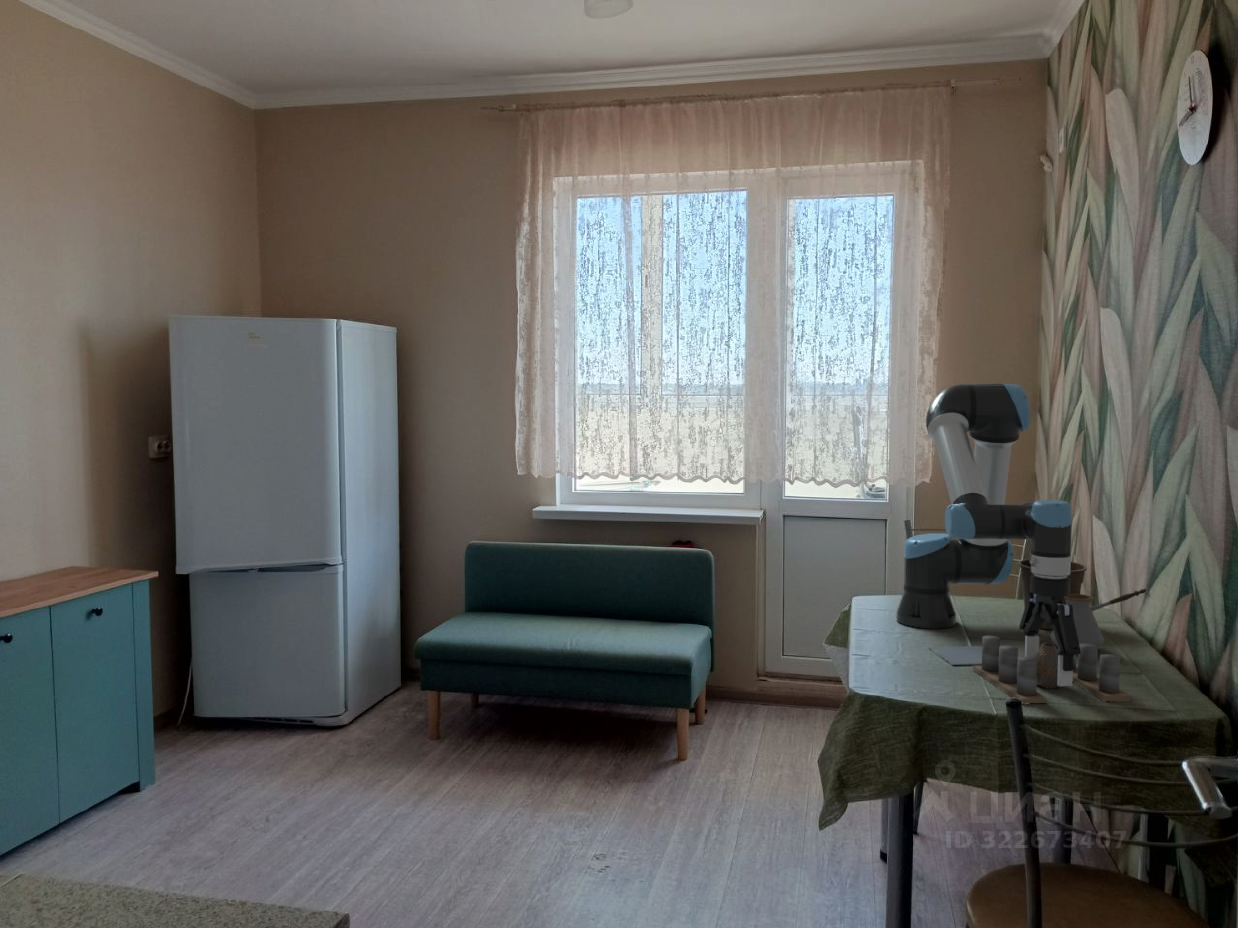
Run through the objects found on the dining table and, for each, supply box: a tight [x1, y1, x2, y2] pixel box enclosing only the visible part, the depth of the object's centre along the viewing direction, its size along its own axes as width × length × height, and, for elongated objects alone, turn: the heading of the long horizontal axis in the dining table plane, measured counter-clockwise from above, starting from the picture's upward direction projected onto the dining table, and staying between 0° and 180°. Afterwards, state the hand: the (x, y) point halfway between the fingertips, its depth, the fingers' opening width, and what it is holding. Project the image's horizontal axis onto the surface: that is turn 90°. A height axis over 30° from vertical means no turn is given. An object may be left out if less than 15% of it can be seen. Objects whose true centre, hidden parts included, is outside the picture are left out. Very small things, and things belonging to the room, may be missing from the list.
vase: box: [1032, 642, 1060, 689], centre depth 194 cm, size 7×7×9 cm
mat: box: [928, 645, 982, 666], centre depth 216 cm, size 14×14×1 cm
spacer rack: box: [972, 635, 1131, 705], centre depth 194 cm, size 22×22×8 cm
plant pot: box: [1018, 558, 1088, 631], centre depth 243 cm, size 16×16×16 cm
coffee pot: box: [1049, 588, 1151, 650], centre depth 219 cm, size 21×12×15 cm, turn 81°
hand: (1047, 675), depth 194 cm, fingers open, 13 cm apart
